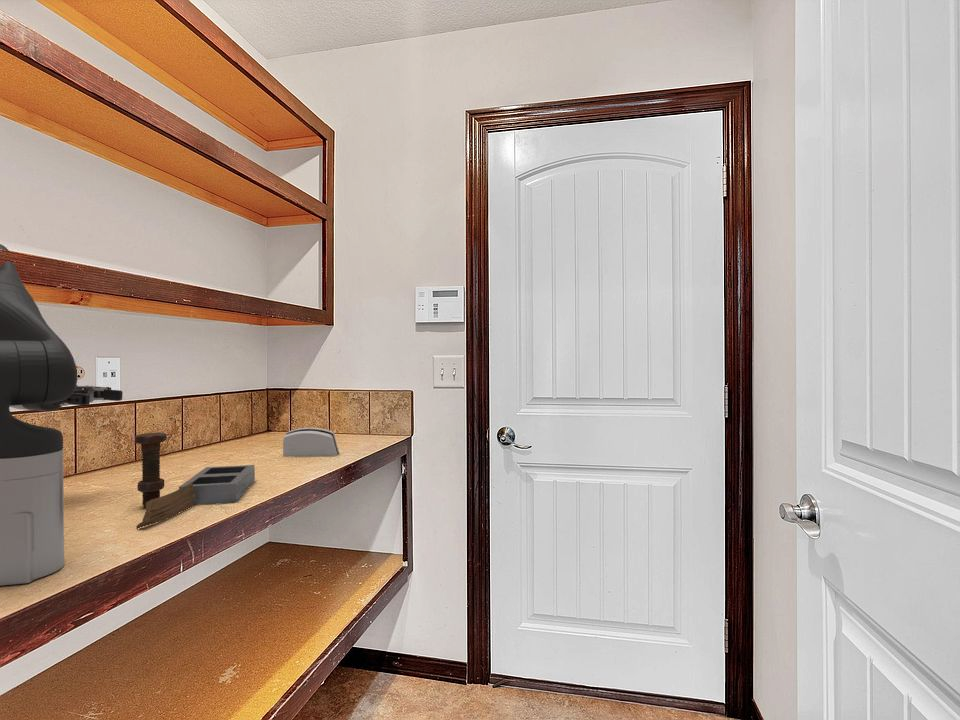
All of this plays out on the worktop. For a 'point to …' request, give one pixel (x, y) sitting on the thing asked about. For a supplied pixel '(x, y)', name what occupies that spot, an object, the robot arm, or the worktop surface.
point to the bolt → (150, 465)
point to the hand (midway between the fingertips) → (105, 397)
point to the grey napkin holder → (310, 442)
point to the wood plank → (168, 505)
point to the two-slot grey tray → (221, 484)
